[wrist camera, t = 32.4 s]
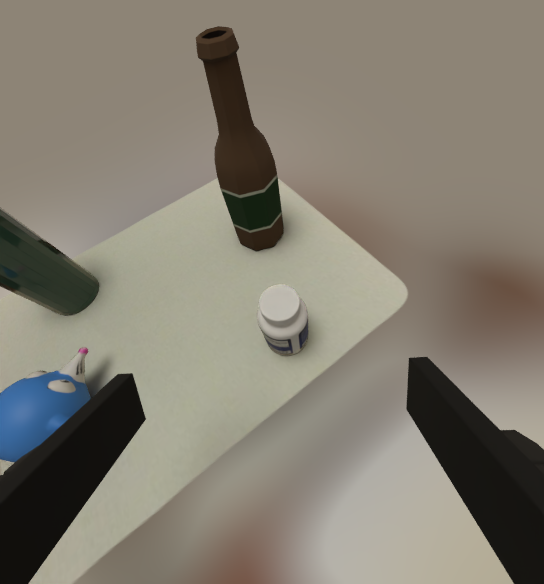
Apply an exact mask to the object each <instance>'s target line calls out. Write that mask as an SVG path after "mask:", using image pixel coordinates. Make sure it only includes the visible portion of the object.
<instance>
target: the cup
mask: <svg viewBox="0 0 544 584" xmlns="http://www.w3.org/2000/svg"><path fill="white" fill-rule="evenodd" d="M0 286H1V287H3V288H5V289H7V290H10V291H11V292H13V293H16V294H18V295H20V296H22V297H24V298H26V299H28V300H30V301H32V302H35V303H37V304H39V305H41V306H43V307H45V308H47V309H49V310H51V311H54V312H56V313H58V314H60V315H72V314H75V313H78V312H80V311H82V310H83V309H85V308H86V307H87V306H88V305H89V304H90V303H91V302H92V301H93V300H94V298H95V297H96V295H97V293H98V289H99V283H98V280H97V279H96V278H95V277H94V276H93V275H92V274H91V273H89V272H88V271H87V270H85V269H84V268H82V267H81V266H80V265H78V264H77V263H76V262H74V261H73V260H72V259H70V258H69V257H67V256H66V255H65V254H63V253H62V252H61V251H59V250H58V249H56V248H55V247H54V246H52V245H51V244H49V243H48V242H47V241H45V240H44V239H43V238H41V237H40V236H39V235H37V234H36V233H35V232H33V231H32V230H30V229H29V228H27V227H26V226H25V225H24V224H22V223H21V222H19V221H18V220H17V219H15V218H14V217H13V216H11V215H10V214H9V213H7V212H6V211H4V210H3V209H2V208H0Z"/></svg>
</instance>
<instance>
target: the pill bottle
mask: <svg viewBox="0 0 544 584" xmlns="http://www.w3.org/2000/svg"><path fill="white" fill-rule="evenodd" d="M257 320H258V324H259V326H260V329H261V331H262V333H263V335H264V337H265V339H266V341H267V343H268V345H269V347H270V348H271V349H272V350H273V351H274V352H276V353H278V354H280V355H285V356H288V355H293V354H296V353H298V352H299V351H300V350H302V349H303V347H304V346H305V344H306V342H307V339H308V312H307V308H306V305H305V303H304V302H303V300H302V299H301V298H300V297H299V295H298V293H297V292H296V291H295V290H294V289H293V288H292V287H290V286H288V285H284V284H277V285H273V286H270V287H269V288H267V289H266V290H265V291H264V292H263V293H262V295H261V296H260V299H259V307H258V311H257Z"/></svg>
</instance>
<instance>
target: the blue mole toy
mask: <svg viewBox="0 0 544 584" xmlns="http://www.w3.org/2000/svg"><path fill="white" fill-rule="evenodd" d="M87 353H88V349H87V348H86V347H83V348H81V349H80V350H79V351H78V354H77V355H75V356H74V357H73V358H72V359H71V360H70V361H69V362H68V363H67V364H66V365H65V366H64V367H62V368H61V369H60V370H59V371H55V372H50V373H47V372H45V371H36V372H33V373H31V374H29V375H28V377H26V378H24V379H21V380H19V381H17V382H15V383H14V384H12V385H11V386H9V387H8V388H6V389H5V390H4V391H3V392H1V393H0V459H2V460H6V461H10V462H16V461H17V460H18V459H19V458H21V457H22V456H24V455H25V454H27V453H28V452H30V451H31V450H33V449H34V448H36V447H37V446H39V445H41V444H42V443H43V442H44V441H45V440H46V439H47V438H48V437H49V436H50V435H52V434H53V433H54V432H55V431H56V430H57V429H58V428H59V427H60V426H61V425H63V424H64V423H65V422H66V421H67V420H68V419H69V418H70V417H71V416H72V415H74V414H75V413H76V412H77V411H78V410H79V409H80V408H81V407H82V406H83V405H85V404H86V403H87V402H88V401H89V400H90V399H91V398H90V394H89V391H88V388H87V386H86V383H85V375H84V372H85V356H86V354H87Z"/></svg>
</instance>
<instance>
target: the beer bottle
mask: <svg viewBox="0 0 544 584" xmlns="http://www.w3.org/2000/svg"><path fill="white" fill-rule="evenodd" d="M196 43H197V53H198V58H199V59H201V60H202V61H203V63H204V67H205V72H206V76H207V80H208V84H209V88H210V93H211V97H212V101H213V106H214V110H215V114H216V118H217V123H218V131H219V136H218V139H217V143H216V146H215V165H216V172H217V177H218V180H219V184H220V188H221V191H222V194H223V196H224V199H225V202H226V205H227V208H228V211H229V213H230V216H231V219H232V222H233V225H234V227H235V230H236V233H237V236H238V238H239V240H240V243H241V244H242V245H245V246H247V247H249V248H251V249H253V250H256V251H257V250H262V249H266V248H270V247H273V246H274V245H275V244H276V242H277V241H278V240H279V238H280V237H281V236H282V234H283V220H282V211H281V203H280V194H279V186H278V177H277V171H276V166H275V161H274V158H273V155H272V153H271V150H270V147H269V145H268V143H267V141H266V139H265V137H264V136H263V135H262V133H260V131H259V130H258V129H257V128H256V127H255V126H254V124H253V121H252V118H251V114H250V109H249V105H248V101H247V97H246V92H245V88H244V84H243V80H242V75H241V71H240V66H239V63H238V58H237V54H236V52H237V50H238V49H239V46H238V43H237V41H236V38H235V36H234V33H233V30H232V28H228V27H214V28H210V29H207V30H205V31H204V32H202V33H200V34H199V35H198V36H197V37H196Z"/></svg>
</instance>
